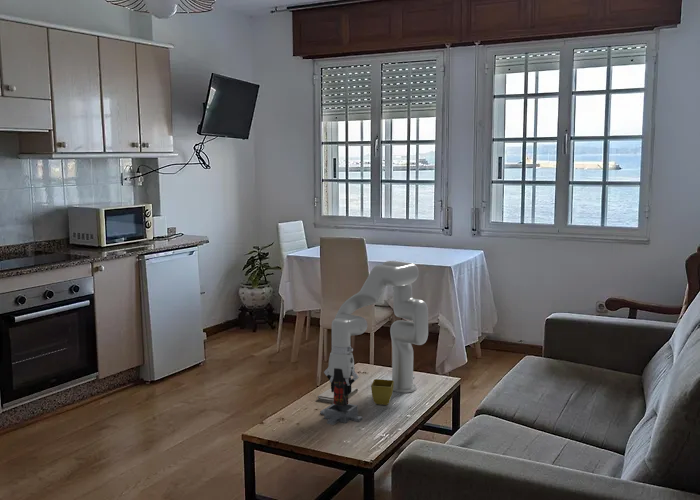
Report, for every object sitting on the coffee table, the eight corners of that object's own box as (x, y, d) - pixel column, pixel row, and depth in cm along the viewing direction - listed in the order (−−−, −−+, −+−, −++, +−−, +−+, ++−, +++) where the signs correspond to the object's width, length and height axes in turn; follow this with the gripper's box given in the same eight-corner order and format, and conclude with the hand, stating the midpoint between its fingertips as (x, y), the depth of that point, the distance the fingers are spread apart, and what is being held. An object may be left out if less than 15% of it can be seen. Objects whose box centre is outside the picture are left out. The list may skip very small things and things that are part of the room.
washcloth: (316, 402, 288) (316, 395, 288) (334, 389, 304) (334, 382, 304) (340, 406, 283) (340, 399, 283) (358, 393, 299) (358, 386, 299)
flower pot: (391, 407, 280) (391, 386, 279) (370, 406, 282) (370, 385, 281) (393, 400, 289) (394, 380, 288) (374, 398, 291) (374, 378, 289)
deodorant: (331, 401, 271) (331, 365, 269) (345, 399, 273) (345, 364, 271) (336, 406, 266) (336, 370, 264) (350, 404, 267) (350, 368, 265)
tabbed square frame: (333, 405, 282) (333, 396, 282) (370, 413, 274) (370, 404, 273) (310, 420, 267) (310, 410, 266) (350, 428, 258) (350, 418, 257)
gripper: (364, 350, 266) (364, 393, 268) (327, 344, 274) (327, 386, 276) (355, 354, 259) (355, 399, 261) (317, 348, 267) (318, 392, 270)
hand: (341, 392), depth 269 cm, fingers closed on deodorant, 5 cm apart
